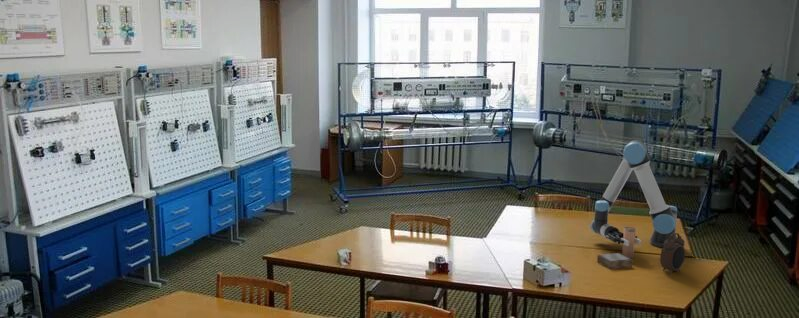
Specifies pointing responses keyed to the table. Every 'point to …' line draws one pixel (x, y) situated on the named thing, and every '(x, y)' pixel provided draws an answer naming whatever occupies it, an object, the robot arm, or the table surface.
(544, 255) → the table surface
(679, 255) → the alarm clock
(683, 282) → the table surface
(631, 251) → the canister
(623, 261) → the base stand
